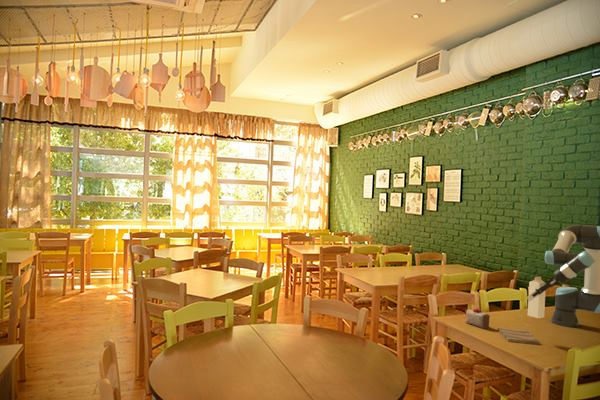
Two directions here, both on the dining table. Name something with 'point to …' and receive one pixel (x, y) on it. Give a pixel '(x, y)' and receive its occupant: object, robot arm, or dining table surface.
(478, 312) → the food item
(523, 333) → the tan board
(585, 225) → the robot arm
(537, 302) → the milk
